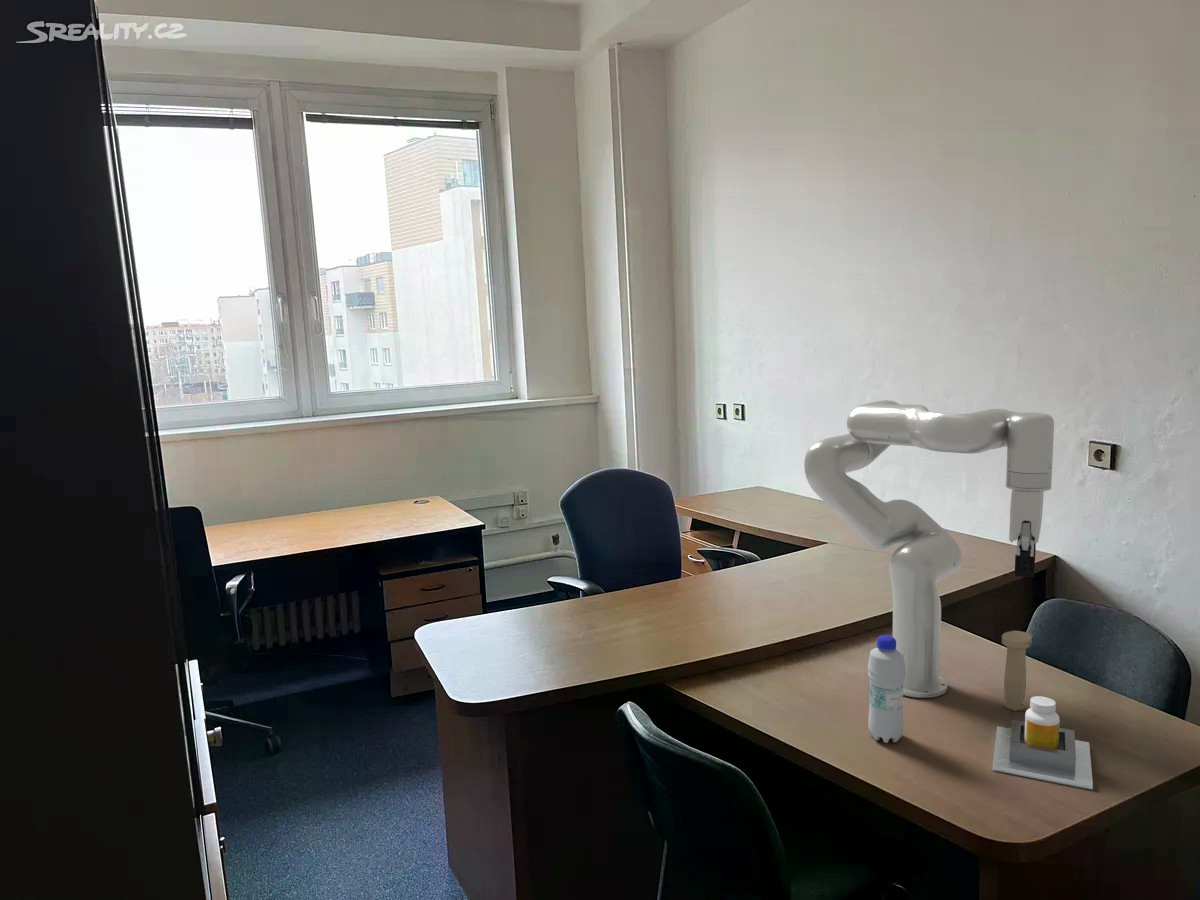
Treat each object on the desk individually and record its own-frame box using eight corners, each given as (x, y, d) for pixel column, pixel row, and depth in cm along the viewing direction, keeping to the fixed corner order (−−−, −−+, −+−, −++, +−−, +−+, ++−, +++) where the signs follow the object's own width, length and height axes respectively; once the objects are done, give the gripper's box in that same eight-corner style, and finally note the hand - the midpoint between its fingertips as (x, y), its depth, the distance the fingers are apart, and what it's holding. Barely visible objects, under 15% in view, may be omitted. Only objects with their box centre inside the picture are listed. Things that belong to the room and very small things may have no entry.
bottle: (886, 749, 153) (887, 646, 150) (859, 734, 159) (860, 634, 156) (912, 740, 156) (914, 638, 153) (885, 725, 162) (886, 626, 159)
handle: (1033, 706, 167) (1036, 635, 165) (1018, 717, 163) (1021, 644, 161) (1009, 698, 171) (1012, 628, 169) (994, 709, 167) (996, 637, 165)
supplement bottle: (1062, 761, 145) (1065, 708, 144) (1028, 759, 146) (1031, 707, 145) (1052, 745, 150) (1054, 694, 149) (1020, 743, 151) (1022, 693, 150)
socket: (992, 770, 145) (993, 748, 145) (997, 731, 158) (997, 711, 158) (1092, 789, 138) (1093, 767, 138) (1088, 747, 151) (1090, 726, 151)
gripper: (1008, 470, 164) (1005, 555, 167) (1003, 487, 149) (1000, 580, 152) (1051, 472, 161) (1047, 558, 163) (1051, 490, 146) (1047, 585, 148)
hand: (1025, 569), depth 157 cm, fingers open, 9 cm apart
